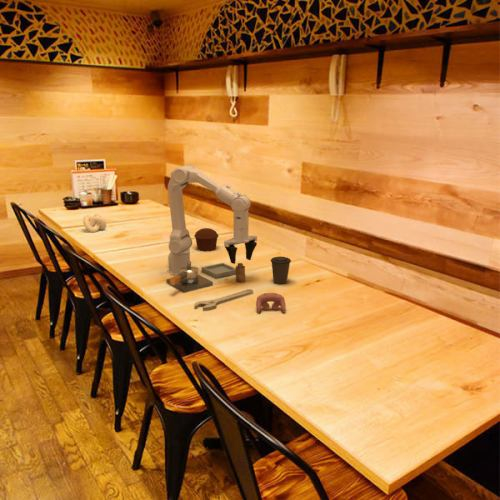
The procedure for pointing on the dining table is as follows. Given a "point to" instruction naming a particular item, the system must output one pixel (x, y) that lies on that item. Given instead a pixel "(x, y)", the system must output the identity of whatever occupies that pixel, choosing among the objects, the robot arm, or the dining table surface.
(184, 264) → the robot arm
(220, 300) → the adjustable wrench
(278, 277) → the coffee cup
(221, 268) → the tray
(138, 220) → the dining table surface
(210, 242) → the muffin
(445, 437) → the dining table surface
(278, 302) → the video game controller
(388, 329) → the dining table surface
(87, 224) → the pretzel
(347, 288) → the dining table surface
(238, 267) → the orange bottle
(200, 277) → the chuck base
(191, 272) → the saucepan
